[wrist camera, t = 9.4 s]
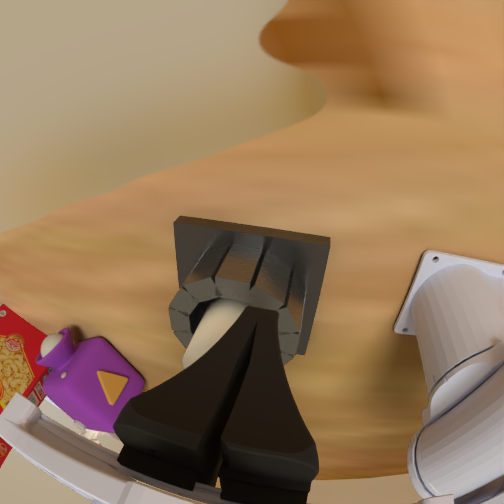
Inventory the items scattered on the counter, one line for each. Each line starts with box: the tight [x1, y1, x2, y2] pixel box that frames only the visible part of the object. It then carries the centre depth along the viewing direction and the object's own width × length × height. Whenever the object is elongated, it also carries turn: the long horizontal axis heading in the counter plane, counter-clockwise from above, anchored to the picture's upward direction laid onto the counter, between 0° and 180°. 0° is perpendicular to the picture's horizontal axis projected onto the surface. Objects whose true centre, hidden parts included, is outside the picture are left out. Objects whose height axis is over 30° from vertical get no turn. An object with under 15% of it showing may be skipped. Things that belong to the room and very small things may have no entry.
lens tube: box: [169, 216, 330, 365], centre depth 23 cm, size 11×11×5 cm
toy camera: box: [36, 328, 144, 433], centre depth 32 cm, size 11×14×10 cm
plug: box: [182, 297, 250, 369], centre depth 20 cm, size 4×4×6 cm
